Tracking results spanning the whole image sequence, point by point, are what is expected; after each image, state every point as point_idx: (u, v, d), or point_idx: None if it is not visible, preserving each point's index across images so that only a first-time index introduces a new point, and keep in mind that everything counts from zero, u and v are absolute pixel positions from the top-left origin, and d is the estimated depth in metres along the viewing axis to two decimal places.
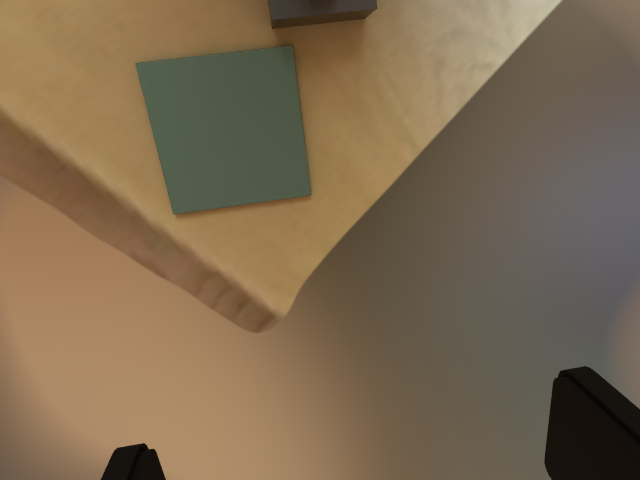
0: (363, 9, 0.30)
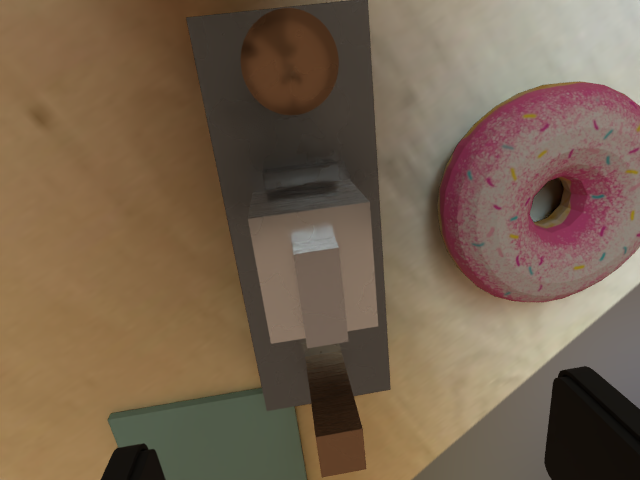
0: (374, 391, 0.26)
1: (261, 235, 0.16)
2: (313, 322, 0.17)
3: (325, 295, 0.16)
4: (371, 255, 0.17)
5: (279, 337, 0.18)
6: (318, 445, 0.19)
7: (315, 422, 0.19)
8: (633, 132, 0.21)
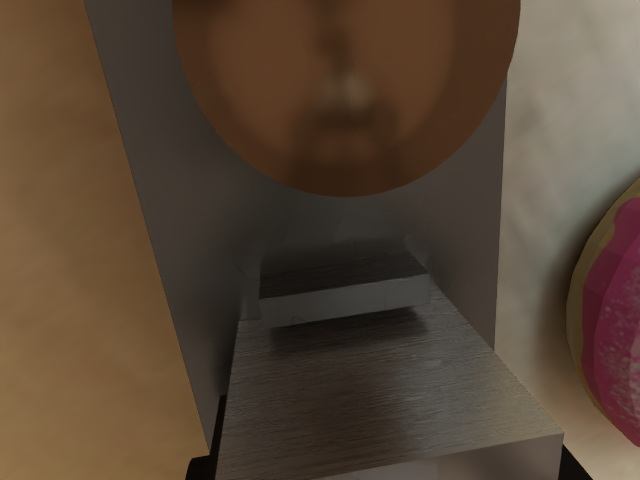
0: None
1: None
2: None
3: None
4: None
5: None
6: None
7: None
8: None
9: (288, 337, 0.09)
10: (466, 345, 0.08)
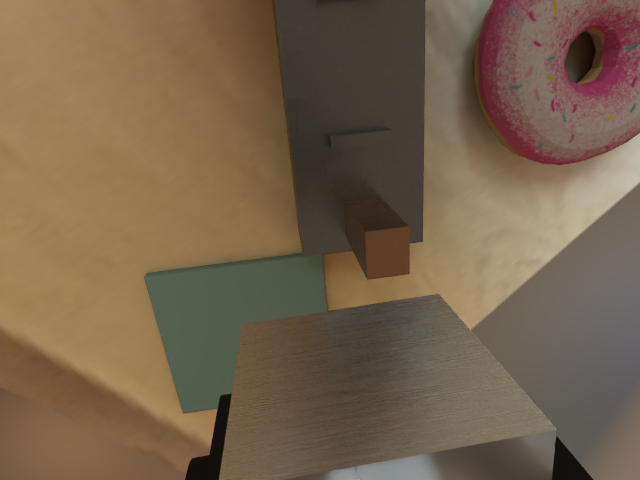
0: None
1: None
2: None
3: None
4: None
5: None
6: (366, 241, 0.19)
7: (362, 225, 0.20)
8: None
9: (290, 340, 0.09)
10: (463, 347, 0.08)
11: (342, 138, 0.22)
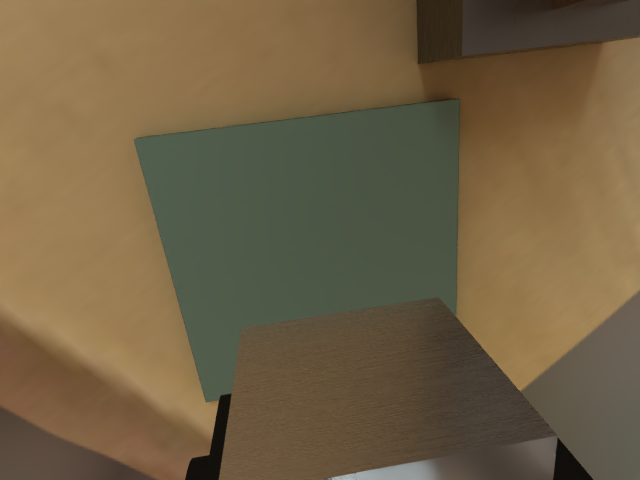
0: None
1: None
2: None
3: None
4: None
5: None
6: None
7: None
8: None
9: (290, 343, 0.09)
10: (464, 351, 0.08)
11: None
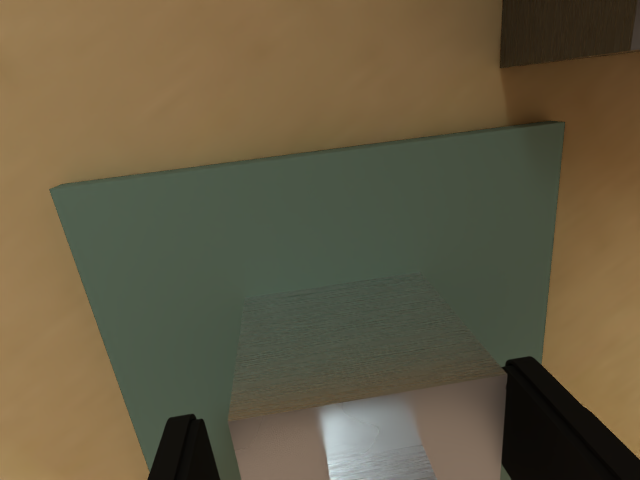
0: None
1: (259, 451, 0.07)
2: None
3: None
4: (496, 473, 0.08)
5: None
6: None
7: None
8: None
9: (288, 309, 0.10)
10: (437, 314, 0.09)
11: None
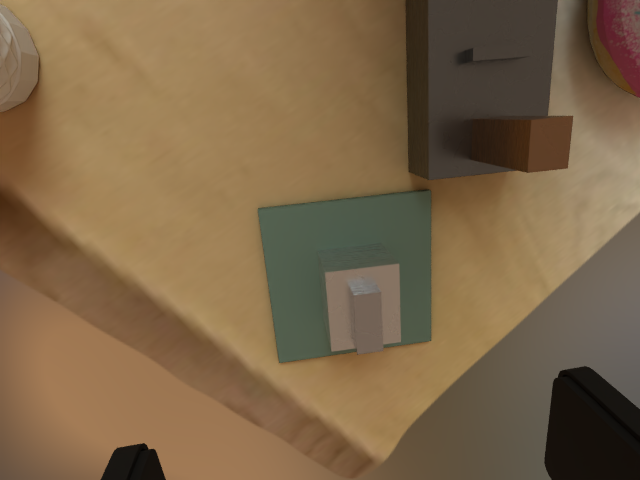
0: None
1: (332, 282, 0.26)
2: (362, 337, 0.26)
3: (371, 321, 0.26)
4: (398, 296, 0.27)
5: (337, 347, 0.28)
6: (531, 131, 0.20)
7: (522, 119, 0.20)
8: None
9: (334, 253, 0.29)
10: (384, 253, 0.29)
11: (484, 50, 0.23)
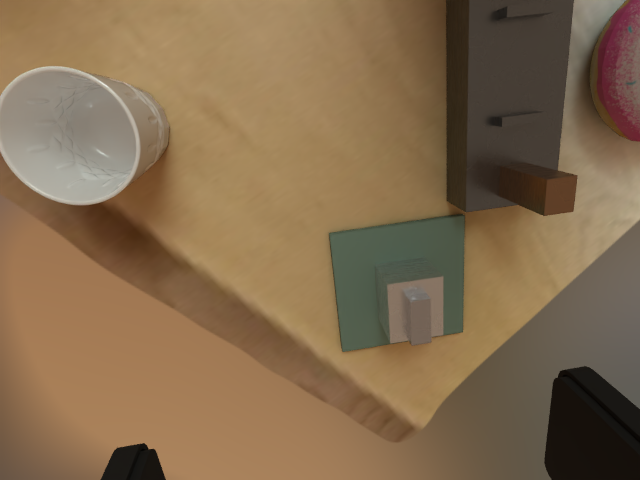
0: None
1: (392, 292, 0.35)
2: (416, 333, 0.35)
3: (422, 320, 0.34)
4: (442, 300, 0.35)
5: (394, 340, 0.36)
6: (547, 187, 0.28)
7: (540, 177, 0.28)
8: None
9: (389, 266, 0.38)
10: (429, 266, 0.37)
11: (510, 118, 0.30)
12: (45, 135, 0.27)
